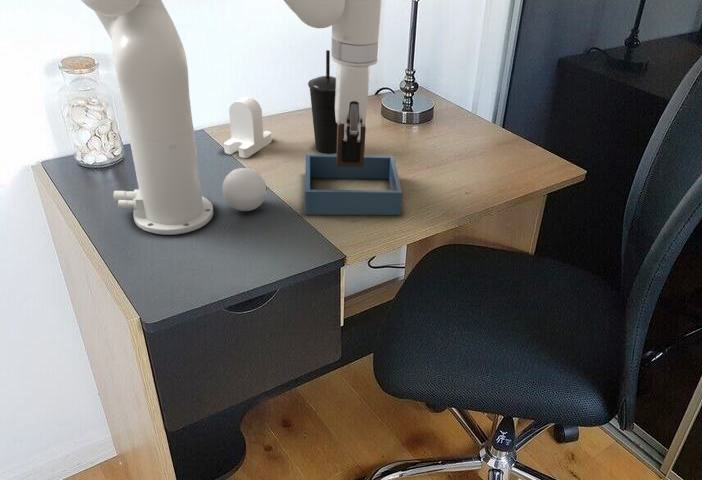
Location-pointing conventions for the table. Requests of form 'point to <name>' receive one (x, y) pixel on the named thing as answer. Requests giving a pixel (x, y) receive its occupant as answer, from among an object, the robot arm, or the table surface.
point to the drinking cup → (324, 110)
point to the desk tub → (352, 199)
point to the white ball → (244, 189)
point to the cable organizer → (246, 128)
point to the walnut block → (339, 146)
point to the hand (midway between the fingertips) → (349, 154)
